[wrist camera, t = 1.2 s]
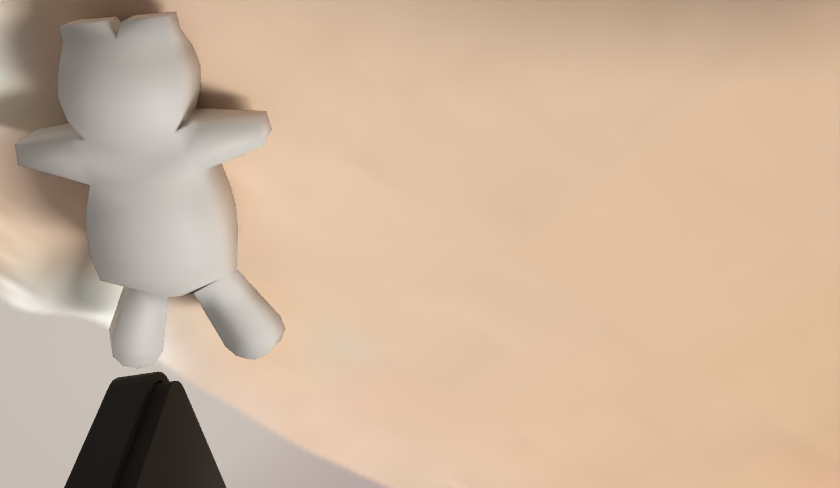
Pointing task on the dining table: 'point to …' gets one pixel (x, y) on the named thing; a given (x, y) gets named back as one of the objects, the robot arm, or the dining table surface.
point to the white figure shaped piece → (154, 181)
